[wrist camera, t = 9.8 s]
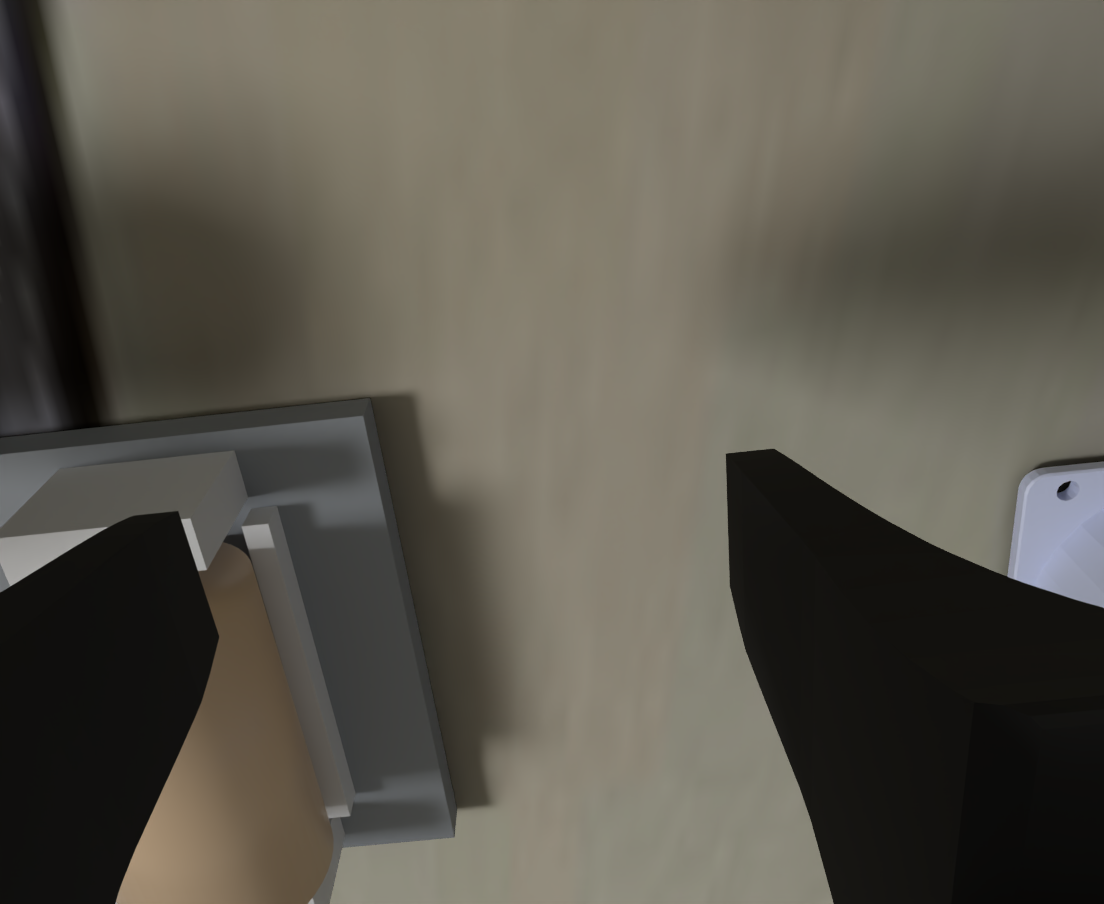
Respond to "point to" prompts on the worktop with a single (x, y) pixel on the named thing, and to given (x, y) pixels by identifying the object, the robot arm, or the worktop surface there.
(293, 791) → the beige rounded cylinder
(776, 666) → the robot arm
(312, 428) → the holder
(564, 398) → the worktop surface
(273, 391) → the worktop surface
